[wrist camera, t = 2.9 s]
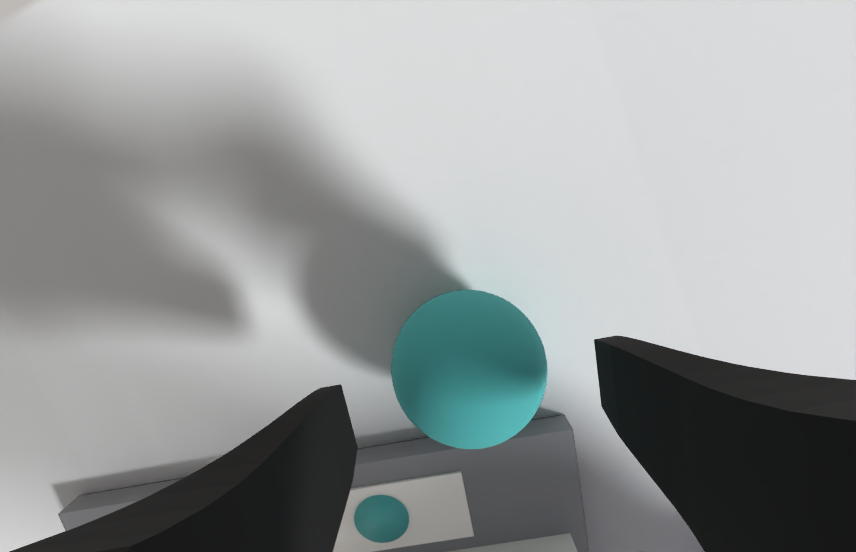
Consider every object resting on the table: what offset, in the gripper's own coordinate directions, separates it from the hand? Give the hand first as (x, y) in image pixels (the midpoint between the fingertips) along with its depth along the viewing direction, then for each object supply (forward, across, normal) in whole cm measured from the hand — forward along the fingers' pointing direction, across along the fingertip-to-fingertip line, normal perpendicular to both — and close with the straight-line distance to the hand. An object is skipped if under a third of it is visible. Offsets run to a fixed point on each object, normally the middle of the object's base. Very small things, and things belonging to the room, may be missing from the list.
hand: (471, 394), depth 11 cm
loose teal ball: (+4, 0, 0) cm, 5 cm away
